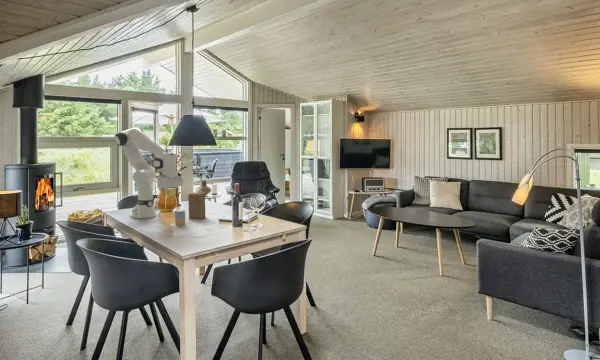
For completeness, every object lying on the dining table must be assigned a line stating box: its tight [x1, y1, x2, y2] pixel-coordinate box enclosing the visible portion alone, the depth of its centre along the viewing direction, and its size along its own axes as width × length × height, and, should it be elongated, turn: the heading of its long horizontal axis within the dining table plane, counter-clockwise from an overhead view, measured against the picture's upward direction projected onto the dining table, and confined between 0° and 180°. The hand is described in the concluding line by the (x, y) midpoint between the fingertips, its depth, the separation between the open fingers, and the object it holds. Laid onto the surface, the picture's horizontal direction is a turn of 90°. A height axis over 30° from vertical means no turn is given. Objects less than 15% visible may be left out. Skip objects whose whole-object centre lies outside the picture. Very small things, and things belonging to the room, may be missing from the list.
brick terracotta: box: [174, 217, 186, 225], centre depth 272 cm, size 5×5×5 cm
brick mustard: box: [165, 187, 177, 197], centre depth 276 cm, size 5×5×5 cm
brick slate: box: [174, 209, 186, 219], centre depth 271 cm, size 5×5×5 cm
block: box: [187, 192, 206, 220], centre depth 296 cm, size 10×10×20 cm
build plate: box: [169, 222, 192, 228], centre depth 272 cm, size 12×12×1 cm
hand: (170, 193), depth 276 cm, fingers closed on brick mustard, 5 cm apart
